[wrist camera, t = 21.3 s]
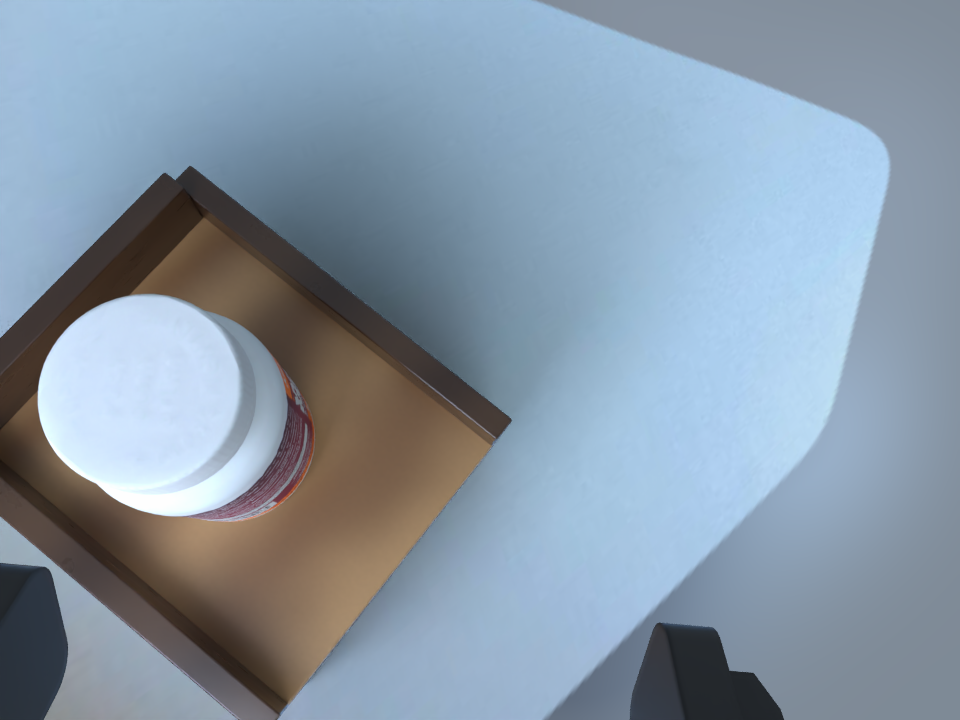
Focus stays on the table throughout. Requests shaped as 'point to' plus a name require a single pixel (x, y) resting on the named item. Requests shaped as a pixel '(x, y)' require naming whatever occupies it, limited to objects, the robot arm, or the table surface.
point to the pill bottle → (175, 410)
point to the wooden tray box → (302, 516)
